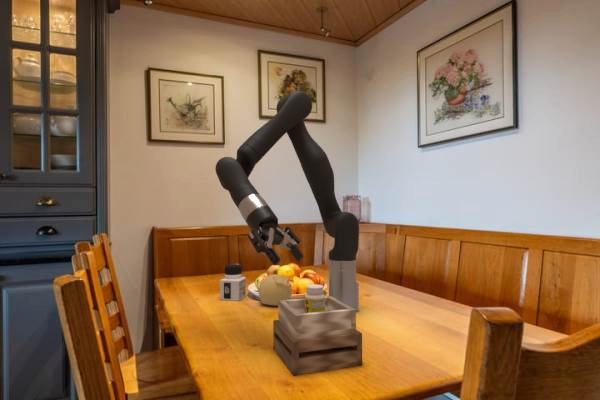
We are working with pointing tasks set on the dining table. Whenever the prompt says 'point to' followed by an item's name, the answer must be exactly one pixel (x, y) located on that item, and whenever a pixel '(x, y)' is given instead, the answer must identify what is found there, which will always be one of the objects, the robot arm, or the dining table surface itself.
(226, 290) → the container
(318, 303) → the supplement bottle
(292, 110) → the robot arm
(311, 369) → the crate stack
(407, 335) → the dining table surface
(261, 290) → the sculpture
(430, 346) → the dining table surface
